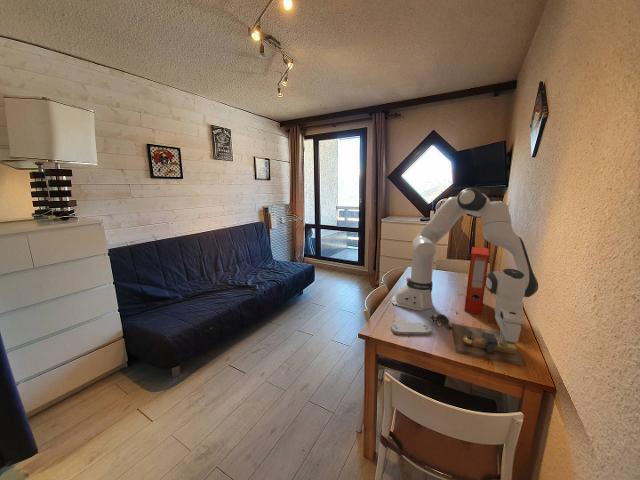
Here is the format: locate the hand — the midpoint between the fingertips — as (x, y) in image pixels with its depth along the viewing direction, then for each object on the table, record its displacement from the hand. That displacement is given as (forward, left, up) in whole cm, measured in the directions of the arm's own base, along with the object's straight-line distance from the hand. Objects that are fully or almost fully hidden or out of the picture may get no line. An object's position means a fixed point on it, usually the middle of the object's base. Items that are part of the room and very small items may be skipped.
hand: (503, 340), depth 110 cm
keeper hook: (-6, -7, -1) cm, 9 cm away
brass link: (-6, -6, -1) cm, 9 cm away
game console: (-36, 0, -4) cm, 37 cm away
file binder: (-5, +38, -3) cm, 39 cm away
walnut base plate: (-7, -1, -3) cm, 7 cm away
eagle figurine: (-23, +9, -3) cm, 25 cm away
